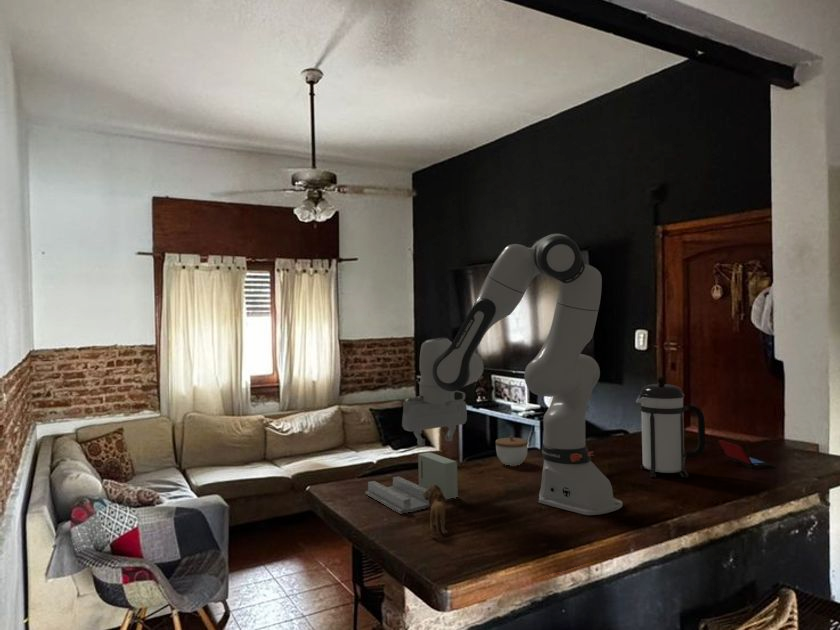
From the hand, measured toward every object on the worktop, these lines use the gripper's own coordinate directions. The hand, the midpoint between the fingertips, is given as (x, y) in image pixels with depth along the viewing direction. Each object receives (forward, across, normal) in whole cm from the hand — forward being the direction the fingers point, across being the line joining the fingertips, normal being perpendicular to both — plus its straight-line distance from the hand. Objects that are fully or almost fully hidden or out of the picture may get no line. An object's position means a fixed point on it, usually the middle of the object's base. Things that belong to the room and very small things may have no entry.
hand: (435, 443), depth 166 cm
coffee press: (+13, +69, -26) cm, 75 cm away
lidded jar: (+14, +38, +11) cm, 42 cm away
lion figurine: (+14, -16, -24) cm, 32 cm away
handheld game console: (+13, +99, -34) cm, 105 cm away
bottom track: (+14, -12, -1) cm, 18 cm away
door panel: (+14, 0, -1) cm, 14 cm away
